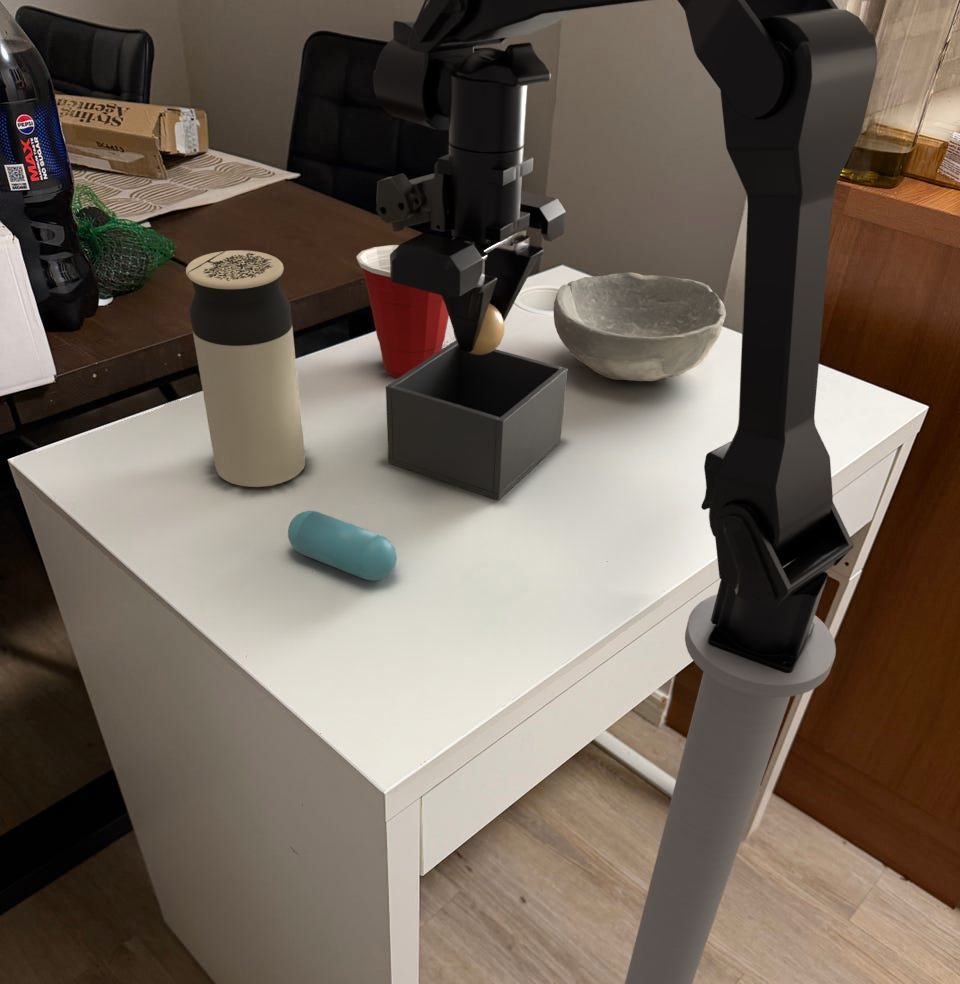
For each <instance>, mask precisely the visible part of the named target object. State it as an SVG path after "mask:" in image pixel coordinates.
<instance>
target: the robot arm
mask: <svg viewBox="0 0 960 984" xmlns="http://www.w3.org/2000/svg"><path fill="white" fill-rule="evenodd" d="M653 1H655V0H424V1H423V4H422V6H421V7H420V11H419V12H418V16H417V18H405V19H398V20H397V19H396V20H394V21H393V23H392V32H393V34H392V35H393V38H392V39H390V41H388V42H387V44H386V45H384V47H383V49H382V50H381V52H380V54H379V56H378V59H377V62H376V66H375V70H374V71H373V75H372V76H373V77H372V82H373V83H372V84H373V89H374V94H375V97H376V100H377V101H378V103H379V105H380V106H381V108H382V109H383V110H384V111H385V112H386V113H387V114H389V115H391V116H392V117H396V118H399V119H402V120H405V121H409V122H410V123H411V122H412V123H415V124H418V125H421V126H424V127H427V128H430V129H433V130H437V131H442V132H447V131H448V154H445V155H443V156H440V157H438V158H437V161H435V163H434V166H433V167H434V170H433V171H434V173H430V174H427V175H423V176H419V177H415V178H412V179H409V178H408V177H407V175H406V174H404V173H403V172H402V173H399V174H397V175H394V176H388V177H385V178H382V179H379V180H378V181H377V182H376V183H377V185H376V199H375V203H376V207H375V211H376V214H377V215H378V216H379V217H380V219H381V221H382V222H383V223H385V224H386V225H387V224H391V226H392V230H393V231H394V232H402V231H404V230H405V229H406V228H407V227H410V226H415V225H420V224H424V223H428V222H430V230H432V231H438V232H441V233H445V232H446V231H448V232H451V237H453V238H449V237H444V236H440V235H436V234H431V233H426V232H422V233H420V234H418V235H416V236H414V237H412V238H409V239H408V240H406V241H404V242H402V243H400V244H398V245H399V246H398V247H397V248H396V249H395V250H394V251H393V252H392V253H391V254H390V275H391V281H392V282H393V283H396V284H400V285H404V286H408V287H412V288H416V289H420V290H423V291H427V292H431V293H435V294H439V295H441V296H442V299H443V301H444V303H445V306H446V309H447V311H448V314H449V317H448V319H449V321H450V323H451V327H452V330H454V331H453V334H454V333H455V336H456V339H457V342H458V345H459V348H460V349H461V350H462V351H466V352H471V351H472V350H473V348H474V346H475V343H476V341H477V338H478V336H479V333H480V330H481V327H482V324H483V321H484V318H485V315H486V312H487V308H488V305H489V304H491V305H493V306H494V307H495V308H497V310H498V311H499V312H500V314H501V315H502V318H503V321H504V322H505V321H506V319H507V317H508V315H509V313H510V311H511V309H512V308H513V306H514V304H515V302H516V299H517V298H518V296H519V294H520V293H521V290H522V289H523V287H524V285H525V283H526V281H527V280H528V278H529V276H530V274H531V272H532V271H533V269H534V267H535V265H536V263H537V261H538V260H539V259H540V257H541V256H543V253H544V250H545V249H544V247H541V246H539V245H534V244H530V239H531V238H530V235H527V229H528V228H531V229H536V230H540V234H541V237H542V238H543V240H544V241H546V242H552V241H554V240H556V239H557V238H559V237H561V236H562V235H564V234H565V223H566V214H567V212H566V210H565V207H563V205H562V203H561V202H560V200H559V198H558V197H553V196H549V195H543V194H538V193H534V192H529V191H524V190H522V186H523V185H522V184H523V183H522V182H523V177H525V176H527V175H528V174H531V173H532V172H533V167H534V157H532V156H527V155H524V153H525V150H524V149H525V147H524V146H525V134H526V116H527V115H526V114H527V99H528V97H527V96H528V86H532V85H539V84H545V83H548V82H550V80H551V77H552V76H551V75H552V74H551V72H550V70H549V69H548V67H547V65H546V64H545V63H544V62H543V61H542V60H541V58H540V57H539V56H538V55H537V53H536V51H535V49H534V46H533V44H532V43H531V42H520V43H513V44H512V43H511V44H508V45H507V46H506V48H505V49H504V50H503V49H499V48H494V47H486V46H494V45H503V44H506V42H508V41H509V40H510V39H511V38H513V37H514V38H515V37H524V36H527V35H531V34H533V33H536V32H538V31H540V30H543V29H545V28H548V27H550V26H552V25H555V24H557V23H558V22H560V21H561V20H562V19H564V18H565V17H566V16H568V15H571V14H573V13H575V12H578V11H582V10H583V11H584V10H590V9H596V8H597V9H598V8H606V7H614V6H622V5H630V4H636V3H637V4H639V3H645V2H653ZM677 2H678V3H679V5H680V6H681V7H682V9H683V11H684V14H685V17H686V22H687V26H688V30H689V34H690V35H689V36H690V39H691V44H692V48H693V52H694V54H695V56H696V58H697V59H698V61H699V63H700V64H701V65H702V66H703V67H704V69H705V71H706V72H707V73H708V74H709V76H710V77H711V78H712V80H713V81H714V83H715V84H716V86H717V87H718V88H719V90H720V100H721V101H720V102H721V109H722V110H721V112H722V119H723V129H724V130H723V131H724V139H725V149H726V151H727V154H728V155H729V157H730V159H731V162H732V164H733V166H734V168H735V171H736V174H737V176H738V179H739V181H740V183H741V184H742V187H743V189H744V191H745V195H746V202H747V213H746V233H745V234H746V235H745V236H746V237H745V255H744V256H745V257H744V258H745V260H744V279H743V280H744V282H743V284H744V285H743V304H742V305H743V307H742V308H743V309H742V310H743V311H742V326H741V327H742V328H741V329H742V330H741V333H742V334H741V355H740V373H739V374H740V375H739V401H738V402H739V403H738V421H737V427H736V431H735V433H734V435H733V438H732V440H731V441H729V442H726V443H725V444H723V445H721V446H719V447H717V448H714V449H713V450H711V451H709V452H708V453H706V455H705V459H704V465H703V470H704V478H705V494H704V499H703V501H702V502H701V503H702V504H701V506H700V508H701V510H702V511H706V510H708V522H709V528H710V530H711V533H712V535H713V537H714V539H715V549H716V558H717V559H716V560H717V568H718V577H719V579H720V582H719V585H718V590H717V593H716V595H717V597H716V601H715V605H714V609H713V613H712V617H711V622H712V624H715V625H716V626H715V627H714V629H713V631H712V632H711V634H710V635H709V639H708V643H709V644H710V645H711V646H713V647H716V648H719V649H722V650H724V651H727V652H730V653H732V654H735V655H738V656H741V657H743V658H746V659H749V660H752V661H754V662H757V663H760V664H762V665H765V666H768V667H771V668H773V669H776V670H779V671H781V672H784V673H791V672H792V671H793V670H794V668H795V666H796V664H797V662H798V660H799V657H800V655H801V653H802V651H803V649H804V647H805V645H806V643H807V641H808V639H809V637H810V635H811V633H812V631H813V628H814V623H813V622H812V621H813V619H814V616H816V613H817V610H818V606H819V603H820V601H821V598H822V595H823V592H824V589H825V586H826V583H827V580H828V578H829V573H828V572H827V571H828V570H829V569H831V568H832V567H835V566H837V565H839V564H840V563H841V562H842V561H843V560H844V559H845V558H846V557H847V555H848V554H849V553H850V552H851V551H852V550H854V542H853V540H852V538H851V536H850V534H849V532H848V530H847V528H846V526H845V524H844V521H843V519H842V518H841V515H840V513H839V511H838V509H837V507H836V505H835V503H834V499H833V498H834V495H833V482H832V479H833V478H832V465H831V456H830V454H829V452H828V450H827V447H826V445H825V443H824V441H823V439H822V437H821V435H820V433H819V431H818V429H817V426H816V420H815V413H816V401H817V388H818V379H819V378H818V377H819V366H820V355H821V354H820V353H821V342H822V330H823V319H824V307H825V297H826V295H825V294H826V285H827V284H826V283H827V273H828V272H827V271H828V262H829V261H828V260H829V251H830V250H829V248H830V236H831V228H832V227H831V225H832V214H833V201H834V193H835V190H836V186H837V183H838V181H839V179H840V177H841V175H842V174H843V173H842V172H843V171H844V168H845V167H846V165H847V162H848V160H849V158H850V157H851V154H852V152H853V150H854V148H855V146H856V144H857V142H858V139H859V137H860V136H861V134H862V130H863V128H864V127H863V126H864V122H865V118H866V114H867V110H868V105H869V102H870V97H871V93H872V90H873V85H874V81H875V78H876V77H875V76H876V72H877V66H878V47H877V42H876V39H875V35H874V33H873V31H871V30H869V29H868V27H867V26H866V25H865V23H864V22H863V21H862V19H861V17H860V16H858V15H856V14H854V13H853V12H851V11H849V10H847V9H841V8H839V7H838V5H836V3H835V2H834V0H677ZM476 47H477V48H478V47H481V48H478V49H476V50H475V48H476ZM455 336H454V337H455ZM456 339H455V340H456ZM786 666H787V667H786Z"/></svg>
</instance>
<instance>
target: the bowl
mask: <svg viewBox="0 0 960 984" xmlns="http://www.w3.org/2000/svg"><path fill="white" fill-rule="evenodd" d="M726 317H727V312H726V307H725V304H724V303H723V301H722V299H720V298H719V296H718V294H717V293H716V292H715V291H713V290H712V289H711V287H710V286H709V285H708V284H705V283H704V282H701V281H698V280H697V281H696V280H693V279H689V278H678V277H672V276H665V275H660V276H659V275H652V274H648V275H647V274H645V275H642V274H640V273H637V272H623V273H612V274H611V273H610V274H607V275H594V276H584V277H582V278H579V279H577V280H572V281H570V282H567V284H562V285H561V286H560V287H559V288H558V291H557V292H556V295H555V298H554V301H553V322H554V327H555V330H556V331H555V332H557V335H558V337H559V340H560V341H561V342H562V344H563V345H564V346H565V347H566V349H567V350H568V352H569V353H570V354H571V355H572V356H574V357H575V359H577V360H578V361H579V362H580V363H582V364H583V365H584V366H585V365H586V366H587V367H588V368H590V369H591V370H592V371H593V372H595V373H596V374H599V375H601V376H603V377H605V378H607V379H611V380H615V381H616V380H617V381H621V380H622V381H623V380H624V381H635V382H636V381H637V382H654V381H655V382H656V381H659V380H665V379H667V378H671V377H678V376H680V375H682V374H684V373H686V372H688V371H691V370H692V369H694V368H696V367H698V366H699V365H700V364H701V363H703V361H704V360H705V359H706V357H707V356H708V354H709V353H710V352H711V350H712V349H713V346H714V345H715V343H716V342H717V341H718V339H719V338H720V335H721V333H722V328H723V324H724V322H725V319H726Z"/></svg>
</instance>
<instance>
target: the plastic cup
mask: <svg viewBox="0 0 960 984" xmlns="http://www.w3.org/2000/svg"><path fill="white" fill-rule="evenodd" d="M399 245H400V244H391V245H390V244H389V245H381V246H374V247H370V248H367V249H363V250H361V251H360V252H359V253H358V254H357V255H356V260H357V263H358V264H359V267H360V268H361V270H362V274H363V278H364V280H365V286H366V289H367V293H368V297H369V302H370V307H371V312H372V317H373V323H374V328H375V333H376V337H377V338H376V339H377V341H378V344H379V348H380V352H381V358H382V363H383V366H384V369H385V371H386V373H387V374H389V375H390V376H392V377H393V378H396V379H398V378H399V377H401V376H402V375H404V374H405V373H407V372H408V371H410V370H411V369H413V368H414V367H416V366H417V365H419V364H420V363H422V362H424V361H425V360H427V359H428V358H430V357H431V356H433V355H434V354H436V353H437V352H439V351H440V350H442V349H443V346H444V342H445V339H446V333H447V328H448V322H449V314H448V311H447V309H446V306H445V303H444V301H443V299H442V296H441V295H439V294H435V293H431V292H427V291H423V290H420V289H416V288H412V287H408V286H404V285H400V284H396V283H393V282H392V281H391V275H390V254H391V253H392V252H393V251H394V250H395V249H396V248H397V247H398V246H399Z"/></svg>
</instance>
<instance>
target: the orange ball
mask: <svg viewBox="0 0 960 984" xmlns="http://www.w3.org/2000/svg"><path fill="white" fill-rule="evenodd" d="M505 326H506V325H505V321H503V318H502V315H501V314H500V312H499V311H498V310H497V308H495V307H494V306H493V305H491V304H489V305H488V308H487V312H486V315H485V318H484V321H483V324H482V327H481V330H480V333H479V336H478V338H477V341H476V343H475V346H474V348H473V350H472V351H471V352H468V353H470V354H474V355H484V354H488V353H490V352H492V351H493V350H495V349H497V348H498V347H499V345H500V344H501V343H502V342H503V341H502V340H503V339H504V336H505ZM452 330H453V329H452ZM453 335H454V340H456V341H457V339H456V336H455V333H454V330H453ZM457 343H458V342H457Z"/></svg>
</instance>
